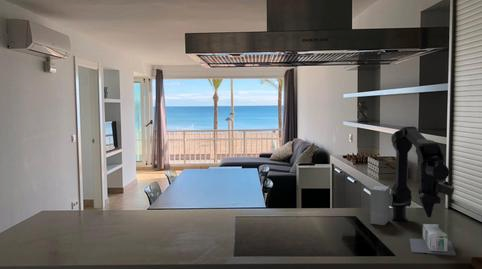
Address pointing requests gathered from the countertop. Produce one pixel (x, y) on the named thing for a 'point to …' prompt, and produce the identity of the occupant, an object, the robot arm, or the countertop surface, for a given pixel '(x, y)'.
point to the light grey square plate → (421, 247)
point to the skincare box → (379, 204)
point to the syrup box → (434, 237)
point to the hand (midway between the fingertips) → (429, 217)
